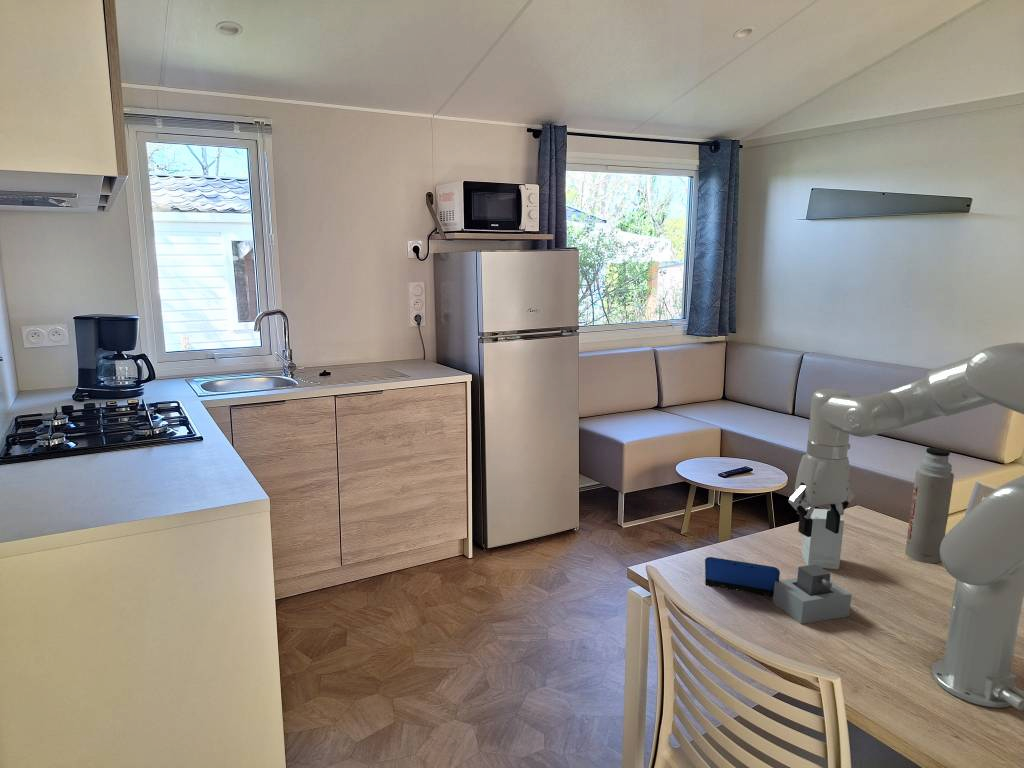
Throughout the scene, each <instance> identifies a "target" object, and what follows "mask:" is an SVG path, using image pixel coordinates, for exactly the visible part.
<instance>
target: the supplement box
mask: <svg viewBox="0 0 1024 768" xmlns="http://www.w3.org/2000/svg"><path fill="white" fill-rule="evenodd" d="M807 508H808V507H806V508H805V510H807ZM828 510H829V509H826V508H825V509H823V508H814V511H813V513H812V515H811V517H810V518H811V519H813V524H812V533H811V537H806V536H805V535H803V534H802V542H801V543H802V544H801V552H800V553H801V554H800V555H801V556H802V558H803V560H804V563H805V564H806V566H808V565H815V564H816V565H818V566H819V567H821V568H822V569H828V570H829V569H830V570H831V569H832V570H839V569H840V565H841V564H840V562H841V561H840V560H841V554H842V543H843V534H844V526H845V519H843V517H842V516H841V517H840V526H839V533H837V534H835V533H833V532H831V531H830V530H828V529H826V527H825V526H826V517H827V511H828Z"/></svg>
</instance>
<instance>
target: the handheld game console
mask: <svg viewBox="0 0 1024 768" xmlns="http://www.w3.org/2000/svg"><path fill="white" fill-rule="evenodd" d="M704 568H705V569H704V571H705V572H704V575H705V579H704V580H705V581H704V583H705V586H707V585H709V586H708V587H712V586H715V587H714V588H718V587H720V589H724V588H727V589H726V590H730V589H731V590H730V591H741V590H742V592H744V591H745V593H747V594H752V595H753V594H754V595H757V594H758V596H762V597H763V596H764V597H768V598H773V595H774V585H775V581H780V575H781V572H780V571H781V570H780V569H779V568H778V567H775V566H771V565H770V566H769V565H764V564H757V563H751V562H745V561H738V560H731V559H725V558H718V557H713V556H709V557H706V558H705V559H704ZM733 589H735V590H733ZM736 589H738V590H736Z"/></svg>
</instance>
